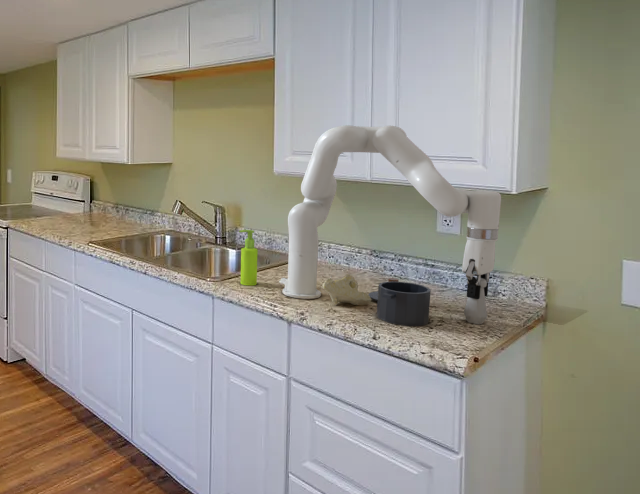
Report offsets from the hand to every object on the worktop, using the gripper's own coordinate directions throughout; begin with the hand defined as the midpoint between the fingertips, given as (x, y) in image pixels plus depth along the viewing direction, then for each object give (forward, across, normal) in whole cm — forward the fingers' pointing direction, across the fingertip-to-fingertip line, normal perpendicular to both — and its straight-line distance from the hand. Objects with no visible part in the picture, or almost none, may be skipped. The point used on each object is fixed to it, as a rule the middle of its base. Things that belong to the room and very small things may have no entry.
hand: (477, 296), depth 159 cm
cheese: (+8, +16, -32) cm, 37 cm away
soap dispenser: (+8, +20, -69) cm, 72 cm away
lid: (+7, -2, -26) cm, 27 cm away
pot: (+8, +14, -14) cm, 21 cm away
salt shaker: (+8, 0, 0) cm, 8 cm away
